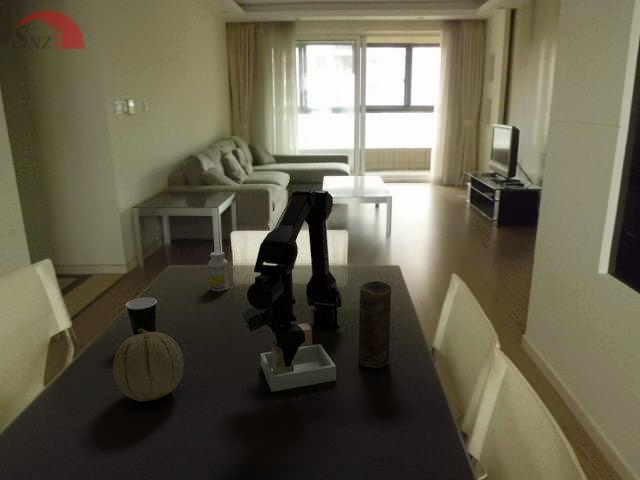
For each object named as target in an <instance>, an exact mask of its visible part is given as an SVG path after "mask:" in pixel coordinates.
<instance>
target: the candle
mask: <svg viewBox="0 0 640 480" xmlns="http://www.w3.org/2000/svg"><path fill="white" fill-rule="evenodd" d="M391 300H392V288H391V285H390V284H388V283H386V282H383V281H380V280H376V281H367V282H365V283H363V284H362V285H361V286H360V290H359V319H358V321H359V324H358V325H359V326H358V329H359V330H358V358H357V360H358V361H357V362H358V364H359V365H360V366H361V367H365V368H372V369H377V370H378V369H381V368H383V367H385V366H386V365H388V363H389V362H390V344H391V343H390V341H391V340H390V338H391V335H390V334H391V328H390V327H391V310H392V309H391V303H392V301H391Z"/></svg>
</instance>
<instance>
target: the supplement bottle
mask: <svg viewBox="0 0 640 480" xmlns="http://www.w3.org/2000/svg"><path fill="white" fill-rule="evenodd" d="M209 256H210V258H211V260H209V261H208V274H209V286H210V290H211V291H212V292H224V290H225V291H227V290H228V289H229V288H230V287H231V285H230V284H231V283H230V273H229V272H230V271H229V270H230V269H229V262H228V260H227V259H226V258H225V252H224V251H212V252H211V253H210V255H209Z"/></svg>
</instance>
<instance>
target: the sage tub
mask: <svg viewBox="0 0 640 480" xmlns="http://www.w3.org/2000/svg"><path fill="white" fill-rule="evenodd" d="M293 360H294V372H289V373H283V374H277V375H275V373H274V371H273V360H272V351H268V352H262V353H260V367H261V370H262V372H263V374H264V377H265V379H266V381H267V384H268V386H269V389H270V392H271V393H272V392H278V391H283V390H289V389H290V390H291V389H294V388H300V387H307V386H311V385H316V384H321V383H322V384H323V383H327V382H333V381H337V366H336V364H335V362H333V360H332V358H331V357H330V355H329V354H328V353H327V351H326V350H325V348H324V347H323V345H322V344H320V343H318V344H312V345H311V346H304V347H299V349H298V351H297V353H296V355H295V357H294V359H293Z"/></svg>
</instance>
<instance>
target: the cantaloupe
mask: <svg viewBox="0 0 640 480" xmlns="http://www.w3.org/2000/svg"><path fill="white" fill-rule="evenodd" d="M137 332H141V333H140V334H137V335H134V334H133V335H132V336H130V337H128V338H126V339H125V340H124V341H123V342H122V343H121V345H119V348H118V349H117V351H116V353H115V356H114V358H113V362H112V363H113V364H112V365H113V366H112V369H113V370H112V372H113V378H114V381H115V384H116V386H117V388H118V389H119V391H120V392H121V393H122V394H123V395H125V396H126V397H127V398H129V399H132V400H134V401H135V400H136V401H137V402H141V403H142V402H143V403H144V402H150V401H155V400H157V399H160V398H163V397H164V396H167V395H168V394H170V393H171V392H173V390H175V389H176V388H177V385H178V384H179V383H180V381H181V380H182V377H183V374H184V366H185V360H184V355H183V352H182V350H181V347H180V346H179V344H178V343H177V342H176V340H174V338H172V337H171V336H169V335H168V334H166V333H162V332H159V331H156V332H147V331H145V330H144V329H138V331H137Z"/></svg>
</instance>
